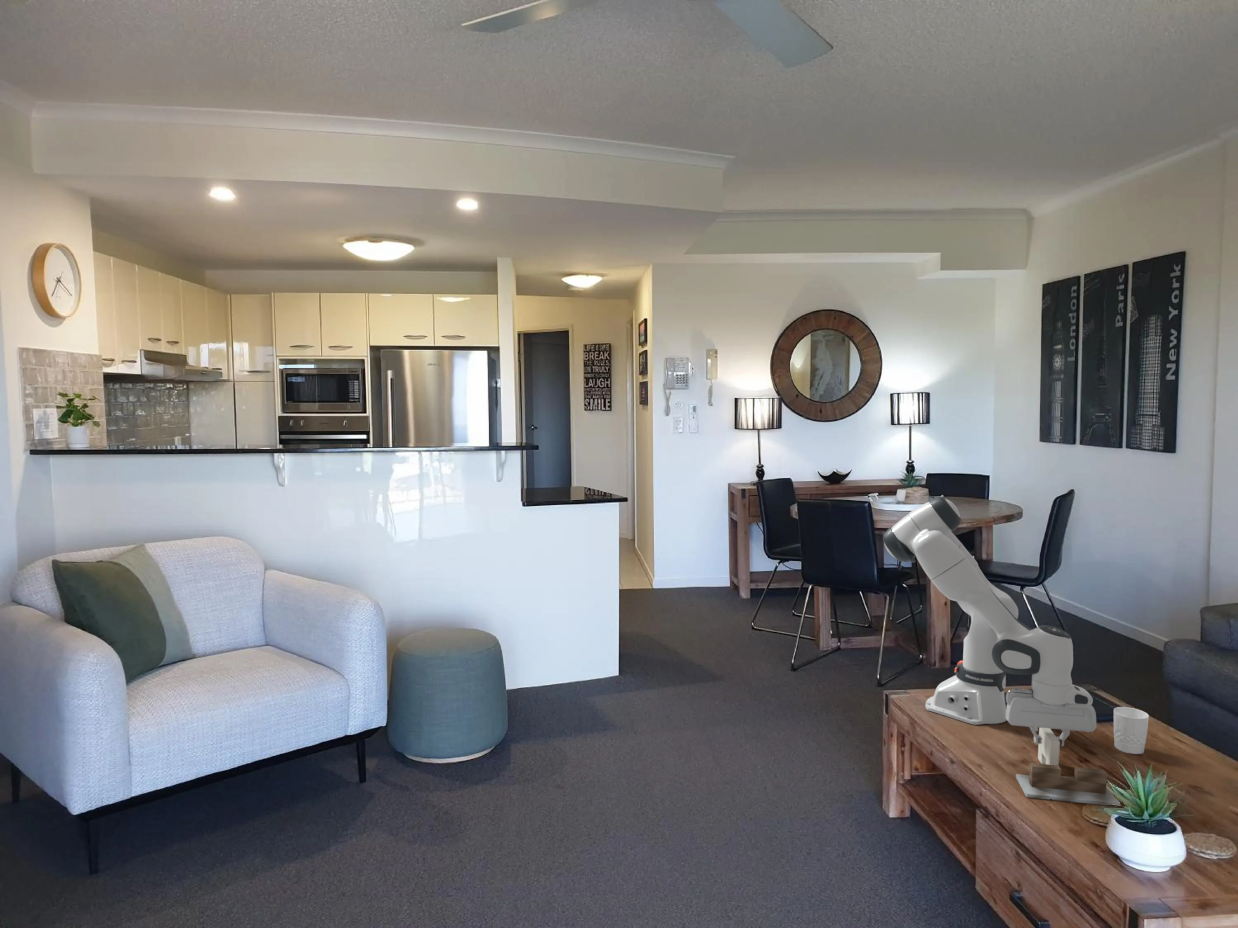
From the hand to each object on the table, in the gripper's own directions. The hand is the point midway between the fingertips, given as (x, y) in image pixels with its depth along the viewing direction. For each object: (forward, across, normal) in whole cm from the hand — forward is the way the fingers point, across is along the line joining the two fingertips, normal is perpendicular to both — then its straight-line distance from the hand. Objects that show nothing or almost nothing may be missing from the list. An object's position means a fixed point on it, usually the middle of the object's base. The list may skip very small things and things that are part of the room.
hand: (1048, 743), depth 202 cm
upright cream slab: (+6, 0, 0) cm, 6 cm away
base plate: (+6, +1, -12) cm, 14 cm away
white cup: (+6, +24, +16) cm, 30 cm away
